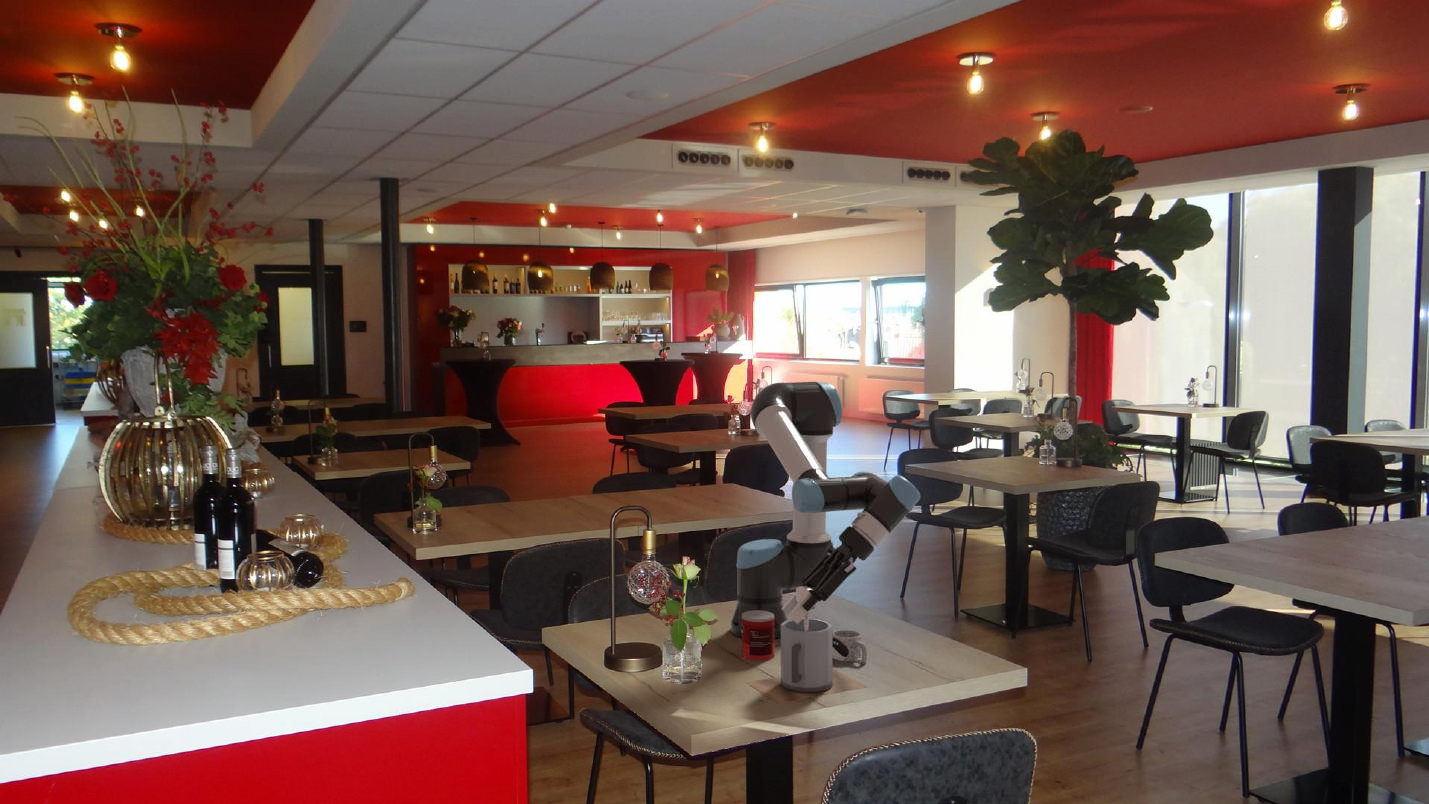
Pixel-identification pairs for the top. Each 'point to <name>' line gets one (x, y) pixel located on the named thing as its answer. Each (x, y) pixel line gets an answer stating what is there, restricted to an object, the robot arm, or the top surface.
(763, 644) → the canned food
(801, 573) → the robot arm
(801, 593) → the plunger
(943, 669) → the top surface
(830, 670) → the grey cup
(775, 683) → the serving board
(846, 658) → the mug
